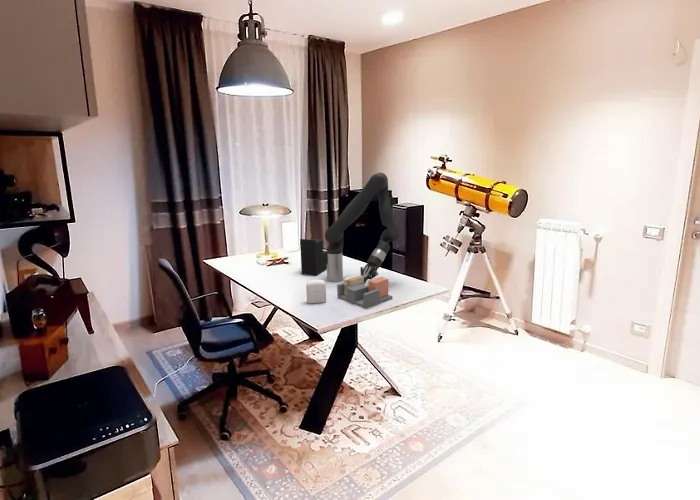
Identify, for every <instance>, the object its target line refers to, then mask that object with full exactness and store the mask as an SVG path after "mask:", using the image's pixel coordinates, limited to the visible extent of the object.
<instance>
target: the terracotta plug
mask: <svg viewBox="0 0 700 500" xmlns="http://www.w3.org/2000/svg"><path fill="white" fill-rule="evenodd" d="M368 286H369V292H370V291H373V290H376V289H378V290H380V298H381V297H384V296H386V295H389V278H387V277H384V276H379V277H377V278H376V277H375V278H372V279H371V280H370V279H369V280H368Z"/></svg>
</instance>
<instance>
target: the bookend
mask: <svg viewBox="0 0 700 500" xmlns="http://www.w3.org/2000/svg"><path fill="white" fill-rule="evenodd" d="M299 241H300V244H299V246H300V264H301V265H300V267H301V275H304V276H313V277H317V276H318V275H320V274H321V273H323V272H325V271H327V264H328V261H327V250H324V239H316V238H311V239H308V238H307V239H306V238H305V239H304V238H300V239H299Z"/></svg>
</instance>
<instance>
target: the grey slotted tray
mask: <svg viewBox="0 0 700 500" xmlns="http://www.w3.org/2000/svg"><path fill="white" fill-rule="evenodd" d="M336 293H337V294H336V295H337V299H340V300H342V301H344V302H347V303H350V304H352V305H355V306H357V307H360V308H363V309H366V310H367V309H369V308H372V307H374V306H377V305H380V304H383V303H384V302H387V301H390V300H393V295H390V294H388V295H386V296H384V297H381V298H380V290H378V289H376V290H373V291H370V292H369V285H365V284H364V285H363V284H359V285H356V286H353V287H349V288H347V295H344V282H342V283H338V284H336Z"/></svg>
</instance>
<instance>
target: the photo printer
mask: <svg viewBox="0 0 700 500" xmlns="http://www.w3.org/2000/svg"><path fill="white" fill-rule="evenodd" d="M326 285H327V284H326V282H325V280H323V279H311V280H308V281H306V285H305V287H306V288H305V289H306V290H305V291H306V303H307V304H318V303H319V304H321V303H322V304H324V303H326V302H327V290H326V288H327V286H326Z"/></svg>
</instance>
